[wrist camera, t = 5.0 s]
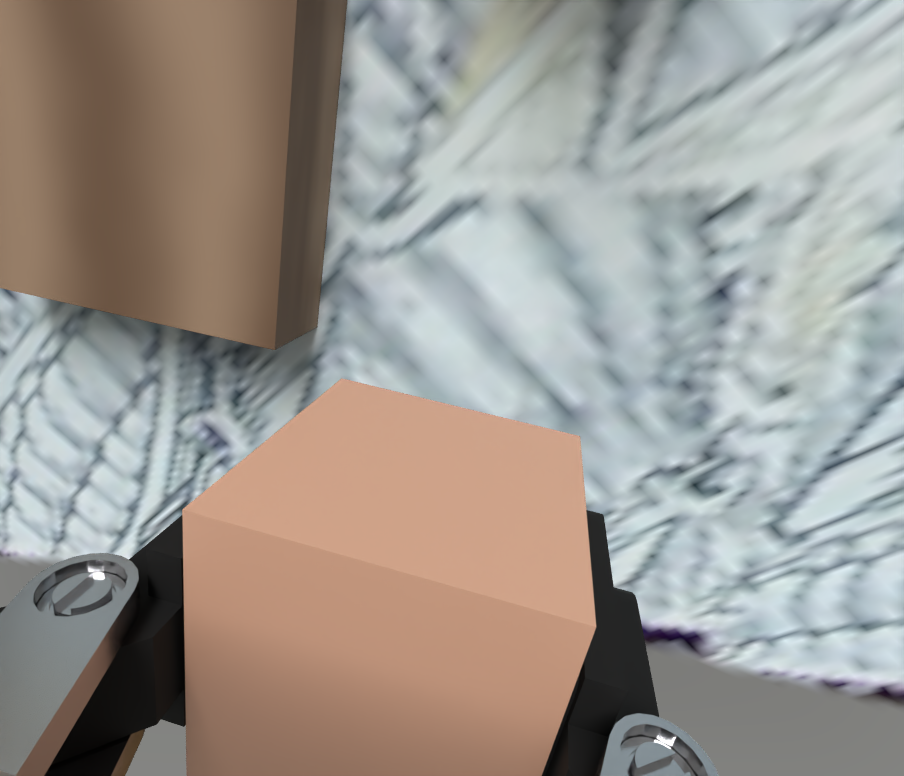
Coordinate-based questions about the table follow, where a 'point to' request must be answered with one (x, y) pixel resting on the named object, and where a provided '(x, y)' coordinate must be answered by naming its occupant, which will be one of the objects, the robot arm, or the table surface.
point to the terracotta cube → (387, 594)
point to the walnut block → (171, 158)
